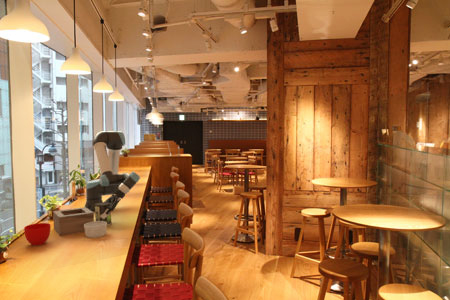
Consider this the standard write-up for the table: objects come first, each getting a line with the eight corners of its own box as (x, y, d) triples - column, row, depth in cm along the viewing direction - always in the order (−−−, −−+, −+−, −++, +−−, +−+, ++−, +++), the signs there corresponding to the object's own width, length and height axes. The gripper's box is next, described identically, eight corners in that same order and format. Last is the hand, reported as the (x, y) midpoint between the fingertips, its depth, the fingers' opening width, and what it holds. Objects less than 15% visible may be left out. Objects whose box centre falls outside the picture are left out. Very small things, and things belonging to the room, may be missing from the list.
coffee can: (114, 222, 241) (113, 202, 240) (106, 226, 231) (105, 205, 230) (100, 221, 243) (100, 201, 242) (92, 225, 233) (91, 204, 232)
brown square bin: (53, 228, 227) (53, 211, 227) (86, 223, 239) (85, 207, 238) (59, 236, 211) (59, 217, 210) (94, 230, 223) (93, 212, 222)
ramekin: (105, 238, 207) (105, 226, 206) (81, 239, 205) (81, 227, 204) (109, 231, 220) (108, 220, 219) (86, 232, 218) (86, 221, 217)
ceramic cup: (56, 237, 208) (55, 220, 207) (46, 246, 191) (46, 228, 191) (32, 238, 206) (31, 221, 205) (20, 248, 189) (20, 229, 189)
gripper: (131, 197, 234) (108, 223, 226) (120, 192, 255) (99, 215, 247) (123, 190, 230) (100, 216, 223) (112, 185, 251) (91, 208, 244)
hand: (99, 215), depth 235 cm, fingers open, 13 cm apart
